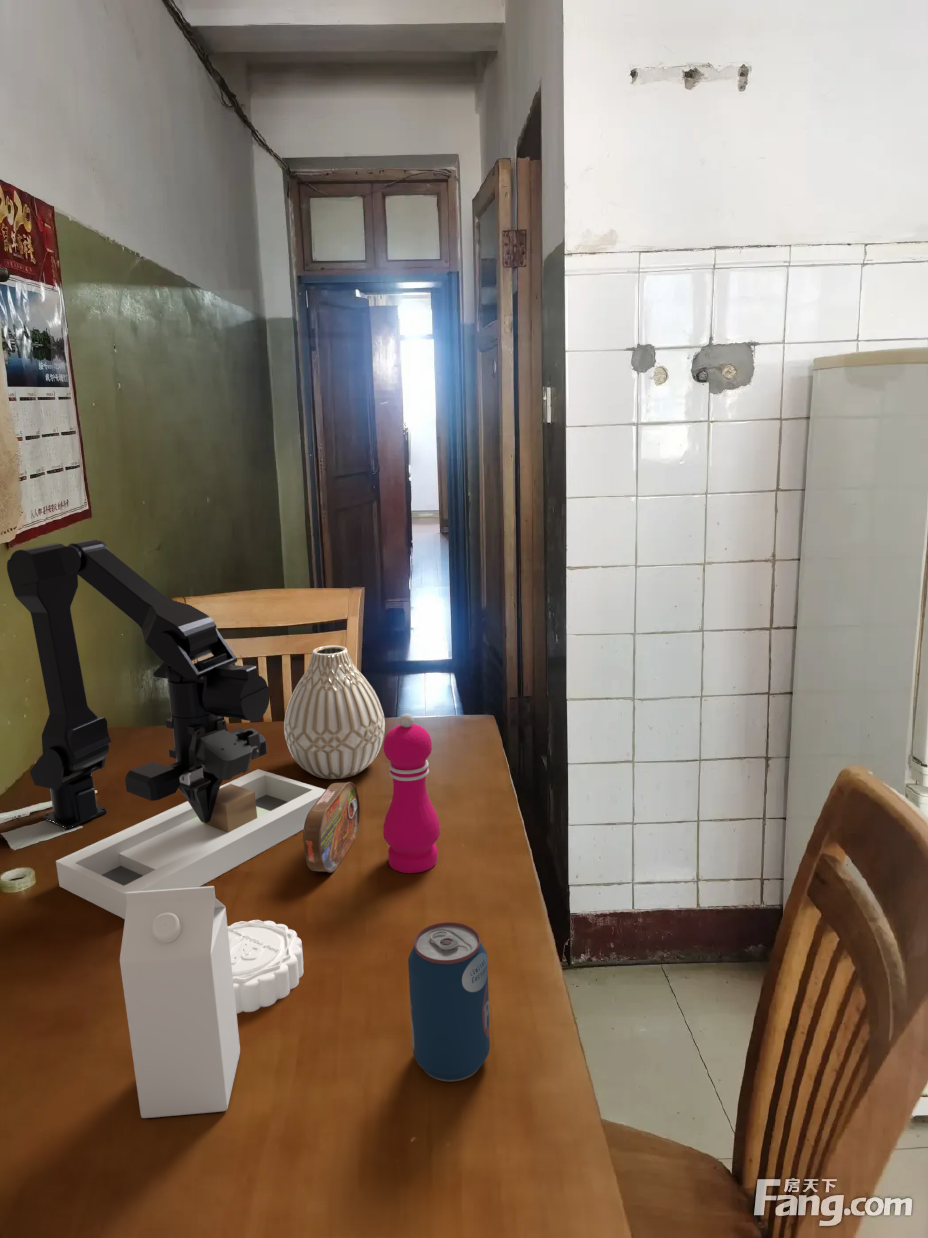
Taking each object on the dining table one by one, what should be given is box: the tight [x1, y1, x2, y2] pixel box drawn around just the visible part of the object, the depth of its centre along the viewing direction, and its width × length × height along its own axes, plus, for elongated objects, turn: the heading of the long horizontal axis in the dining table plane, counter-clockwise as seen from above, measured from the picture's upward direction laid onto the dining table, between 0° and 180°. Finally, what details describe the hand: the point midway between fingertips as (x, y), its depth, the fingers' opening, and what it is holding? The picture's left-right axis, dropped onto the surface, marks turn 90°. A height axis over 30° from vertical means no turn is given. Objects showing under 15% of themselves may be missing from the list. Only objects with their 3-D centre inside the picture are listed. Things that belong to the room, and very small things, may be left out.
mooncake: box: [227, 919, 304, 1014], centre depth 93 cm, size 12×12×4 cm
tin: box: [302, 781, 361, 873], centre depth 117 cm, size 15×3×8 cm, turn 168°
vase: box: [283, 645, 386, 780], centre depth 143 cm, size 16×16×20 cm
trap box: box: [55, 768, 326, 920], centre depth 120 cm, size 15×33×4 cm, turn 145°
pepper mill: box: [382, 713, 441, 874], centre depth 113 cm, size 7×7×20 cm
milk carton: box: [119, 885, 241, 1119], centre depth 76 cm, size 7×7×19 cm
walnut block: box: [205, 784, 257, 833], centre depth 123 cm, size 5×5×4 cm
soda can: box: [407, 921, 491, 1083], centre depth 79 cm, size 7×7×12 cm
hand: (205, 821), depth 120 cm, fingers closed
